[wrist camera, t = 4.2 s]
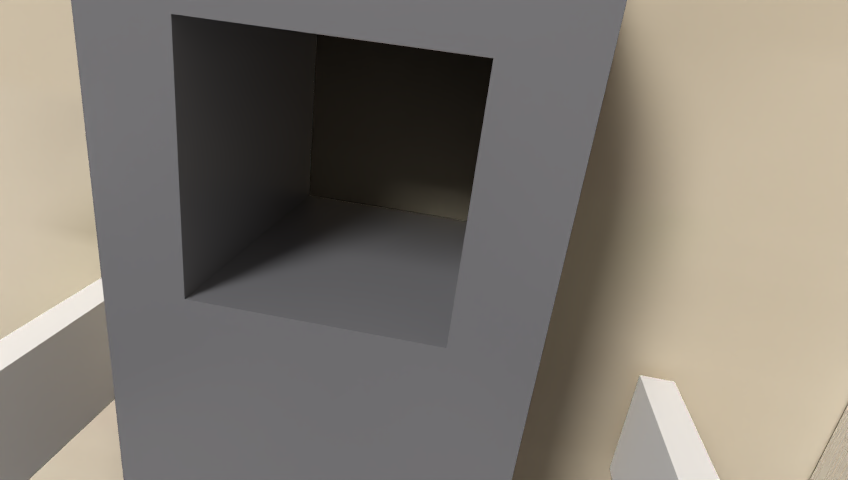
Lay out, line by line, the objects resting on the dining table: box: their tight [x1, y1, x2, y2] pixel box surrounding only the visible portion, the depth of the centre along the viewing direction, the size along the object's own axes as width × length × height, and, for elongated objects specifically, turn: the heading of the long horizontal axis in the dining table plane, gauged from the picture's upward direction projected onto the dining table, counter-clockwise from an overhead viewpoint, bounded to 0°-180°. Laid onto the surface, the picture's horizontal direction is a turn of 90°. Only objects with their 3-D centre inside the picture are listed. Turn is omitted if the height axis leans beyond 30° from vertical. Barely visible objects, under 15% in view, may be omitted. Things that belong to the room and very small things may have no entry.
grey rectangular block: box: [71, 0, 627, 480], centre depth 11 cm, size 20×6×6 cm, turn 173°
